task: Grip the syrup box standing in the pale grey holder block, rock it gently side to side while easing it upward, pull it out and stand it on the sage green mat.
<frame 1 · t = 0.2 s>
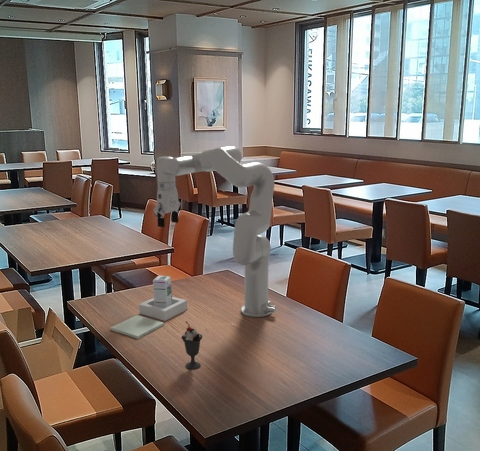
hand: (168, 224, 227), 31 cm above the table, tool pointing down, fingers open, 9 cm apart
syrup box: (163, 312, 211), resting in holder
holder: (163, 311, 211), on the table
sundae: (192, 366, 167), on the table
mat: (137, 327, 196), on the table
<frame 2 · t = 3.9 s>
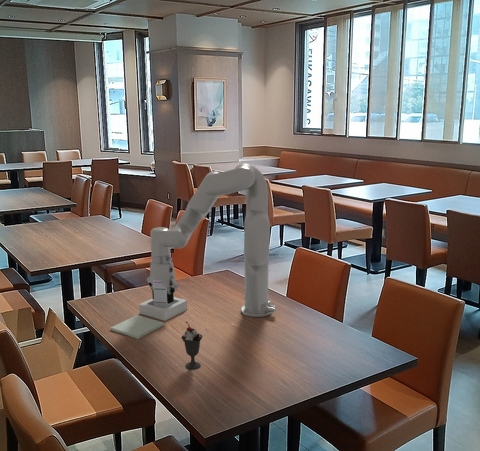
hand: (163, 300, 210), 5 cm above the table, tool pointing down, fingers closed on syrup box, 7 cm apart
syrup box: (163, 312, 211), resting in holder, touching gripper
everything else where it was.
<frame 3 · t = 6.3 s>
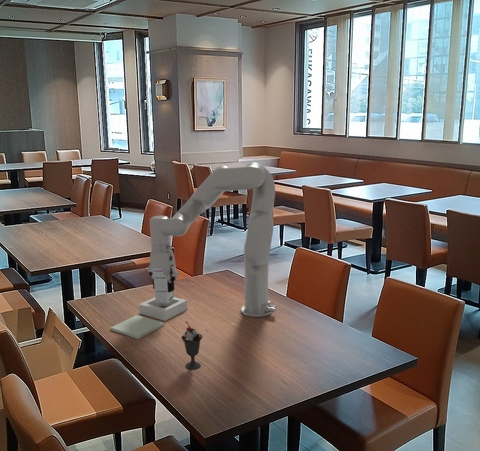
hand: (163, 289, 209), 10 cm above the table, tool pointing down, fingers closed on syrup box, 7 cm apart
syrup box: (164, 301, 210), point 4 cm above the table, touching gripper
everything else where it was.
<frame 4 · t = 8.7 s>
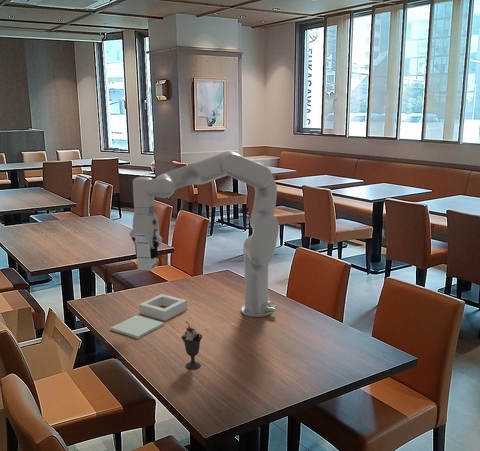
hand: (146, 255, 197), 26 cm above the table, tool pointing down, fingers closed on syrup box, 7 cm apart
syrup box: (147, 268, 199), point 21 cm above the table, touching gripper
everything else where it was.
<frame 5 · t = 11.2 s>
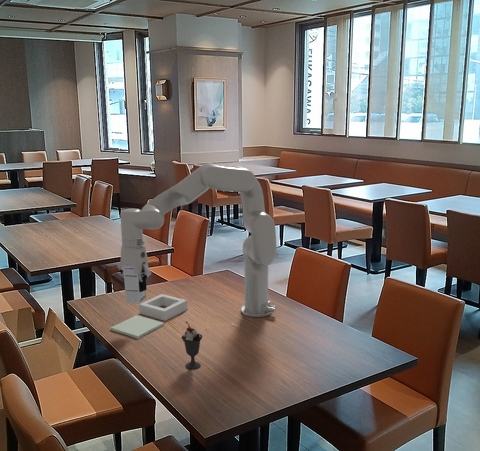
hand: (135, 288, 193), 16 cm above the table, tool pointing down, fingers closed on syrup box, 7 cm apart
syrup box: (135, 301, 194), point 11 cm above the table, touching gripper
everything else where it was.
when the fingers open (7 cm above the table, at t = 13.4 s): syrup box drops 1 cm, resting on mat.
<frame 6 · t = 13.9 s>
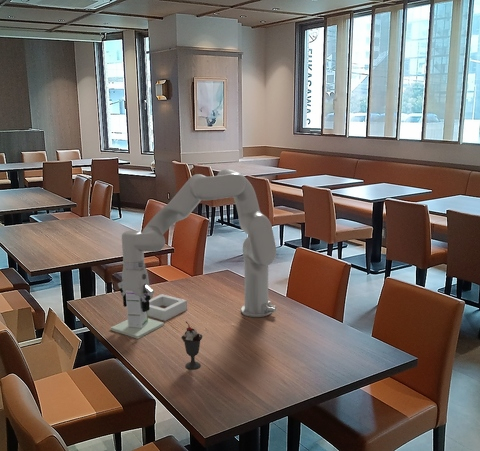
hand: (136, 308, 195), 8 cm above the table, tool pointing down, fingers open, 9 cm apart
syrup box: (138, 325, 196), point 1 cm above the table, touching mat
everything else where it was.
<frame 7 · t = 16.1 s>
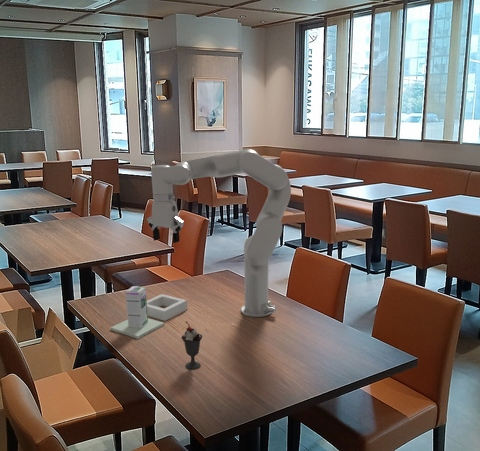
hand: (166, 240, 202), 30 cm above the table, tool pointing down, fingers open, 9 cm apart
nothing on the table moved.
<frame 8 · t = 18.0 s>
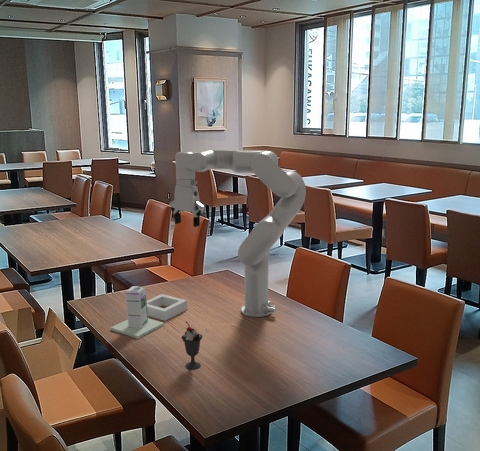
hand: (187, 224, 211), 34 cm above the table, tool pointing down, fingers open, 9 cm apart
nothing on the table moved.
at the end: syrup box inside the target area on the mat (0.2 cm from its centre), point 0.8 cm above the mat's base; syrup box tilted 0°; the gripper is holding nothing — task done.
